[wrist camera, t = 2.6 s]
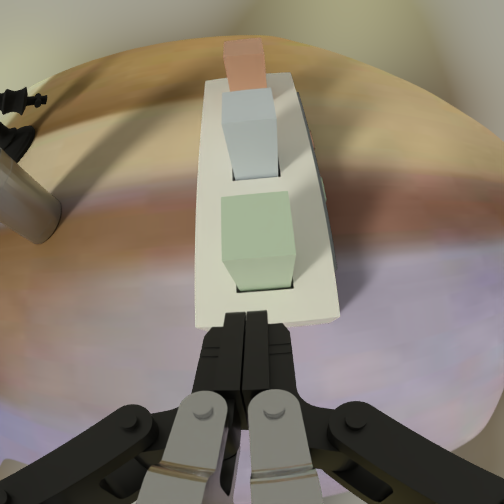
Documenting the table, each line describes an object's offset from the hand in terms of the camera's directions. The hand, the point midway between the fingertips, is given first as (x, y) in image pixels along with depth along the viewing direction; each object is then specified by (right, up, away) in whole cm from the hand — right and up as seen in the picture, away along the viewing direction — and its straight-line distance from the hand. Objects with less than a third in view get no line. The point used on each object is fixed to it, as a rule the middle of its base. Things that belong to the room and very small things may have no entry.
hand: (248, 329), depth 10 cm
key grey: (+1, +14, +24) cm, 27 cm away
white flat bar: (+1, +12, +28) cm, 31 cm away
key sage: (+1, +1, +19) cm, 19 cm away
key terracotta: (0, +26, +28) cm, 38 cm away
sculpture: (-60, +33, +42) cm, 81 cm away
